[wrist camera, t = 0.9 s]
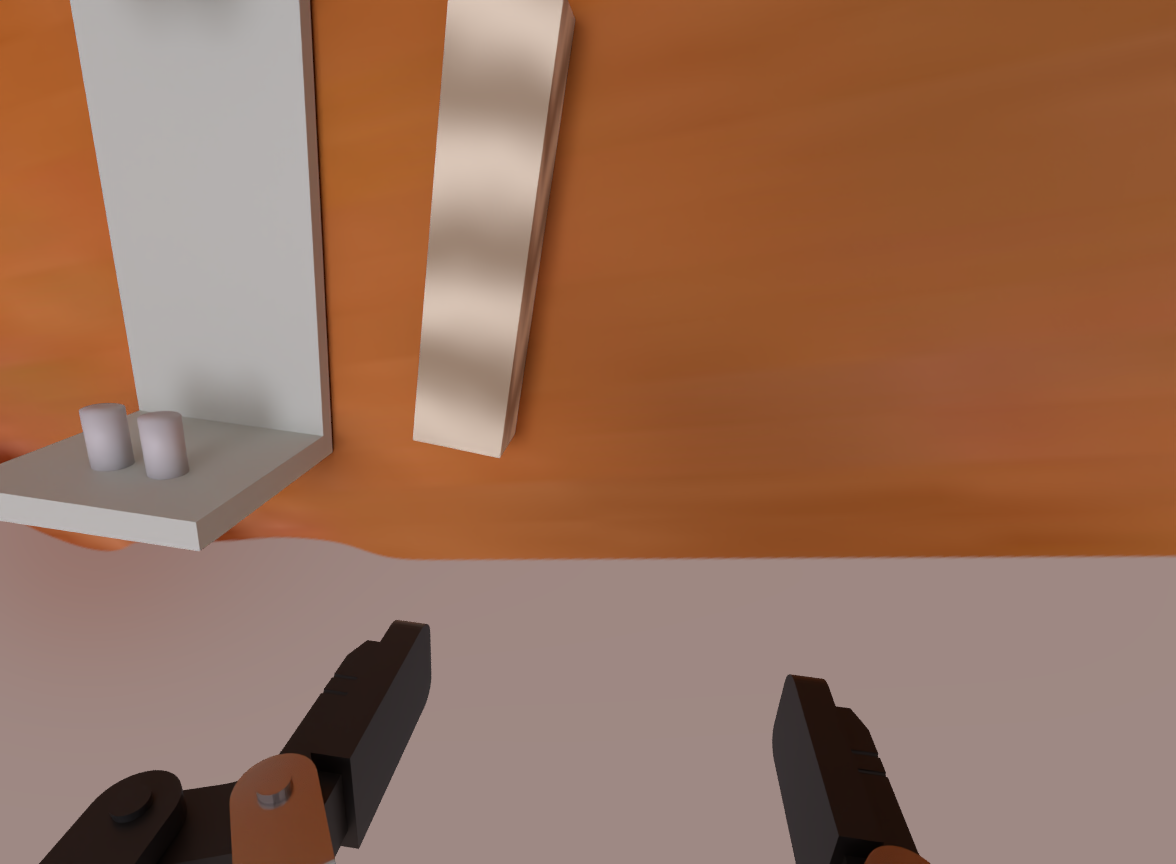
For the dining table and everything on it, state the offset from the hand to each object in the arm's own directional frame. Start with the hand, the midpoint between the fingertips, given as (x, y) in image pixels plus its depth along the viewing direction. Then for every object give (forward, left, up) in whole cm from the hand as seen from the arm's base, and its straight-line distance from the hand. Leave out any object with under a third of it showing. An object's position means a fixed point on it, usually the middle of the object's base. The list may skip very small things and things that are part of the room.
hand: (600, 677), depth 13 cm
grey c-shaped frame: (-7, -25, -23) cm, 34 cm away
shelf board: (-7, -9, -23) cm, 26 cm away
